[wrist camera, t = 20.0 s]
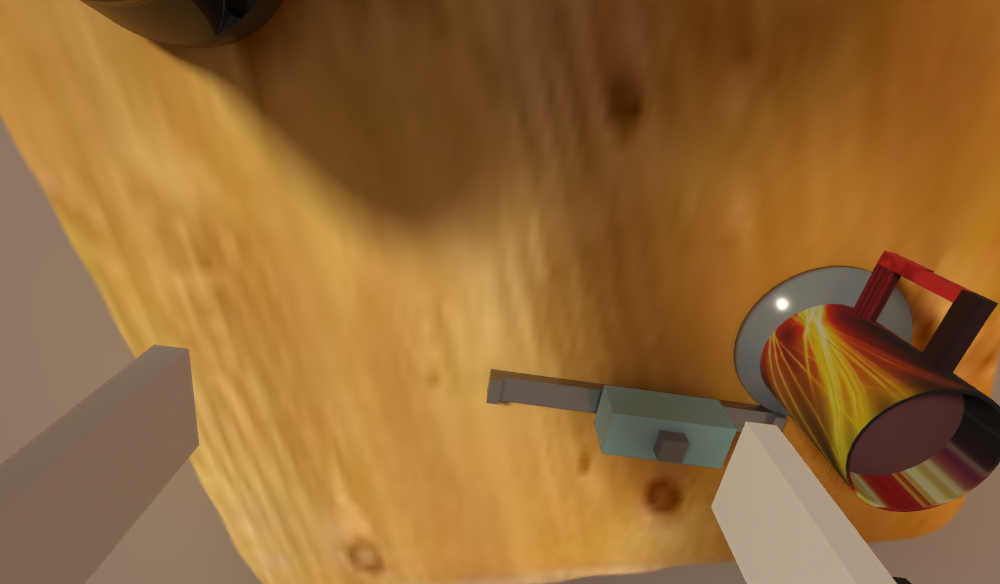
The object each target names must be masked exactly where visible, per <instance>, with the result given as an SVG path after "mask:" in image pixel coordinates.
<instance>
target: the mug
mask: <svg viewBox="0 0 1000 584" xmlns="http://www.w3.org/2000/svg"><path fill="white" fill-rule="evenodd" d="M933 272H934V271H932V270H930V269H928V268H925V267H923V266H921V265H919V264H917V263H915V262H913V261H910V260H908V259H906V258H904V257H902V256H900V255H898V254H895V253H891V252H888V251H884V252H883V254H882V256H881V257H880V259H879V261H878V262H877V265H876V267H875V269H874V271H873V272H872V274H871V276H870V278H869V280H868V282H867V284H866V286H865V288H864V290H863V291H862V293H861V295H860V297H859V299H858V301H857V303H856V305H855V307H850V306H847V305H842V304H825V305H818V306H814V307H811V308H807V309H805V310H803V311H801V312H798V313H796V314H795V315H793V316H791V317H790V318H788V319H787V320H785V321H784V322H783V323H782V324H781V325H780V326H779V327H778V328H776V330H775V331H774V332H773V333H772V335H771V336H770V337H769V339H768V340H767V342H766V344H765V346H764V348H763V351H762V355H761V359H760V371H761V376H762V379H763V381H764V383H765V385H766V386H767V387H768V389H769V390H770V391H771V392H772V394H773V395H774V396H775V397H776V398H777V400H778V401H779V402H780V403H781V404H782V406H783V407H784V408H785V409H786V411H787V412H788V413H789V414H790V415H791V417H792V418H793V419H794V420H795V421H796V423H797V424H798V425H799V426H800V428H801V429H802V430H803V431H804V432H805V434H806V435H807V436H808V437H809V438H810V440H811V441H812V442H813V443H814V445H815V446H816V447H817V448H818V449H819V451H820V452H821V453H822V454H823V455H824V457H825V458H826V459H827V460H828V462H829V463H830V464H831V465H832V466H833V468H834V469H835V470H836V471H837V472H838V474H839V475H840V476H841V477H842V479H843V480H844V481H845V482H846V483H847V485H848V486H849V487H850V488H851V489H852V491H853V492H854V493H855V494H856V496H857V497H859V498H860V499H861V500H863V501H864V502H865V503H867V504H869V505H872V506H874V507H876V508H879V509H883V510H888V511H897V512H910V511H920V510H925V509H929V508H934V507H937V506H940V505H943V504H946V503H948V502H951V501H953V500H955V499H957V498H959V497H961V496H963V495H965V494H966V493H968V492H969V491H971V490H972V489H973V488H975V487H977V486H978V485H979V484H980V483H981V482H982V481H983V480H984V479H986V478H987V477H988V476H989V475H990V474H991V473H992V471H993V470H994V469H995V467H996V466H997V465H998V464H999V462H1000V406H999V405H997V404H996V403H995V402H994V401H993V400H992V399H991V398H989V397H988V396H986V395H985V394H983V393H982V392H980V391H979V390H977V389H976V388H974V387H973V386H971V385H970V384H968V383H967V382H965V381H964V380H962V379H961V378H960V377H958V376H957V375H955V374H954V373H953V371H954V370H955V368H956V367H957V365H958V363H959V362H960V360H961V359H962V357H963V356H964V354H965V353H966V351H967V350H968V348H969V346H970V345H971V343H972V342H973V340H974V339H975V337H976V336H977V334H978V332H979V331H980V329H981V328H982V326H983V325H984V323H985V322H986V320H987V318H988V317H989V316H990V314H991V313H992V311H993V310H994V309H995V307H996V306H997V304H998V303H996V302H994V301H992V300H989V299H987V298H985V297H983V296H981V295H979V294H977V293H975V292H973V291H970V290H968V289H966V288H964V287H962V286H960V285H958V284H956V283H953V282H951V281H949V280H947V279H945V278H943V277H941V276H939V275H937V274H934V273H933ZM901 276H903V277H905V278H907V279H908V280H910V281H912V282H914V283H916V284H918V285H920V286H922V287H924V288H926V289H928V290H930V291H932V292H934V293H935V294H937V295H939V296H941V297H943V298H945V299H947V300H949V301H951V302H953V304H952V305H951V307H950V309H949V310H948V312H947V314H946V315H945V317H944V319H943V320H942V322H941V324H940V325H939V327H938V329H937V330H936V332H935V333H934V335H933V337H932V338H931V340H930V342H929V343H928V345H927V347H926V348H925V350H924V352H921V351H920V350H918V349H917V348H915V347H914V346H912V345H911V344H909V343H908V342H906V341H905V340H903V339H902V338H900V337H899V336H897V335H896V334H894V333H893V332H892V331H890V330H889V329H887V328H886V327H884V326H883V325H881V324H880V323H878V322H877V319H878V317H879V315H880V313H881V312H882V310H883V308H884V306H885V304H886V303H887V301H888V299H889V297H890V295H891V293H892V292H893V290H894V288H895V286H896V284H897V283H898V281H899V279H900V277H901Z"/></svg>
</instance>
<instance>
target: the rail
mask: <svg viewBox="0 0 1000 584" xmlns="http://www.w3.org/2000/svg"><path fill="white" fill-rule="evenodd" d="M603 388H604V384H596V383H589V382H581V381H574V380H566V379H559V378H552V377H544V376H537V375H529V374H522V373H514V372H507V371H499V370H492V369H491V372H490V378H489V385H488V391H487V403H492V404H498V402H499V400H500V401H507V402H515V403H523V404H530V405H538V406H545V407H553V408H561V409H568V410H576V411H583V412H591V413H597V411H598V407H599V403H600V399H601V396H602V392H603ZM633 389H634V388H633ZM700 398H701V397H700ZM719 402H720V403H721V405H722V407H723V408H724V410H725V411H726V413H727V414H728V416H729V417H730V419H731V421H732V422H733V424H734V425H735V427H736V428H737V431H736V432H742V430H743V427H744V425H745V422H746V421H747V422H754V423H762V424H770V425H777V426H778V428H779V429H780V430H781V431H782V429H783V427H784V425H785V422H786V420H787V418H786V417H785V416H784V415H783V413H776V412H773V411H771V410H769V409H767V408H765V407H764V406H760V405H753V404H745V403H738V402H730V401H723V400H719Z"/></svg>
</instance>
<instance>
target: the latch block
mask: <svg viewBox="0 0 1000 584" xmlns="http://www.w3.org/2000/svg"><path fill="white" fill-rule="evenodd" d="M594 424H595V428H596V432H597V436H598V440H599V444H600V448H601V452H602V454H610V455H618V456H626V457H634V458H641V459H649V460H657V461H665V462H673V463H680V464H688V465H696V466H704V467H712V468H719V469H721V468H722V466H723V463H724V461H725V459H726V456H727V454H728V451H729V449H730V446H731V444H732V441H733V439H734V436H735V434H736V431H737V428H736V427H735V425H734V424H733V422H732V421H731V419H730V417H729V416H728V414H727V413H726V411H725V410H724V408H723V407H722V405H721V403H720V402H719V400H715V399H708V398H700V397H693V396H686V395H678V394H671V393H663V392H656V391H648V390H641V389H633V388H626V387H619V386H611V385H604V388H603V392H602V396H601V399H600V403H599V407H598V411H597V414H596V418H595V422H594Z"/></svg>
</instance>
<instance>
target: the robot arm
mask: <svg viewBox="0 0 1000 584" xmlns="http://www.w3.org/2000/svg"><path fill="white" fill-rule="evenodd" d="M80 1H82V2H83V3H85V4H87V5H88V6H90V7H91V8H93V9H95V10H96V11H98V12H99V13H101V14H102V15H104V16H105V17H107V18H109V19H110V20H112V21H113V22H115V23H116V24H118V25H120V26H122V27H123V28H125V29H127V30H129V31H131V32H133V33H136V34H138V35H140V36H143V37H146V38H149V39H151V40H154V41H158V42H162V43H166V44H171V45H180V46H191V47H214V46H221V45H226V44H229V43H232V42H236V41H238V40H240V39H243V38H244V37H246V36H248V35H250V34H251V33H253V32H254V31H256V30H257V29H258V28H260V27H261V26H262V25H263V24H264V23H265V22H266V21H267V20H268V19H269V18H270V17H271V16H272V15H273V14H274V12H275V11H276V9H277V8H278V7H279V5H280V3H281V2H282V0H80ZM198 446H199V440H198V431H197V421H196V412H195V403H194V394H193V384H192V375H191V366H190V357H189V349H184V348H176V347H169V346H161V345H153V346H152V347H151V348H149V349H148V350H147V351H146V352H144V353H143V354H142V355H140V356H139V357H138V358H137V359H135V360H134V361H133V362H132V363H130V364H129V365H128V366H127V367H125V368H124V369H123V370H121V371H120V372H119V373H117V374H116V375H115V376H114V377H112V378H111V379H110V380H108V381H107V382H106V383H104V384H103V385H102V386H101V387H99V388H98V389H97V390H95V391H94V392H93V393H92V394H90V395H89V396H88V397H86V398H85V399H84V400H83V401H82V402H80V403H79V404H77V405H76V406H75V407H74V408H72V409H71V410H70V411H68V412H67V413H66V414H65V415H63V416H62V417H61V418H59V419H58V420H57V421H56V422H54V423H53V424H52V425H50V426H49V427H48V428H47V429H45V430H44V431H43V432H41V433H40V434H39V435H37V436H36V437H35V438H34V439H32V440H31V441H30V442H29V443H27V444H26V445H25V446H23V447H22V448H21V449H19V450H18V451H17V452H16V453H14V454H13V455H12V456H10V457H9V458H8V459H7V460H5V461H4V462H3V463H1V464H0V584H85V583H86V582H87V580H88V579H89V578H90V576H91V575H92V574H93V573H94V572H95V571H96V569H97V568H98V567H99V566H100V564H101V563H102V562H103V561H104V560H105V558H106V557H107V556H108V555H109V554H110V552H111V551H112V550H113V549H114V548H115V546H116V545H117V544H118V543H119V541H120V540H121V539H122V538H123V537H124V535H125V534H126V533H127V532H128V531H129V529H130V528H131V527H132V526H133V524H134V523H135V522H136V521H137V520H138V518H139V517H140V516H141V515H142V513H143V512H144V511H145V510H146V509H147V507H148V506H149V505H150V504H151V503H152V501H153V500H154V499H155V498H156V497H157V495H158V494H159V493H160V492H161V490H162V489H163V488H164V487H165V486H166V484H167V483H168V482H169V481H170V480H171V478H172V477H173V476H174V475H175V473H176V472H177V471H178V470H179V469H180V467H181V466H182V465H183V464H184V463H185V461H186V460H187V459H188V458H189V456H190V455H191V454H192V453H193V452H194V450H195V449H196V448H197V447H198ZM711 508H712V511H713V513H714V515H715V517H716V519H717V521H718V523H719V526H720V528H721V530H722V532H723V534H724V536H725V538H726V541H727V543H728V545H729V547H730V549H731V551H732V553H733V556H734V558H735V560H736V562H737V564H738V566H739V568H740V571H741V572H742V575H743V577H744V579H745V581H746V583H747V584H911V583H910V582H909V581H908V580H907V579H905V578H897V577H892V576H891V575H890V574H889V573H888V571H887V570H886V569H885V567H884V566H883V565H882V563H881V562H880V561H879V559H878V558H877V557H876V555H875V554H874V553H873V551H872V550H871V549H870V548H869V546H868V545H867V543H866V542H865V541H864V540H863V538H862V537H861V536H860V534H859V533H858V532H857V530H856V529H855V528H854V526H853V525H852V524H851V522H850V521H849V520H848V518H847V517H846V516H845V515H844V513H843V512H842V511H841V509H840V508H839V507H838V505H837V504H836V503H835V501H834V500H833V499H832V497H831V496H830V495H829V493H828V492H827V491H826V490H825V488H824V487H823V486H822V484H821V483H820V482H819V480H818V479H817V478H816V476H815V475H814V474H813V472H812V471H811V470H810V468H809V467H808V466H807V465H806V463H805V462H804V461H803V459H802V458H801V457H800V455H799V454H798V453H797V451H796V450H795V449H794V447H793V446H792V445H791V443H790V442H789V441H788V440H787V438H786V437H785V436H784V434H783V433H782V432H781V430H780V429H779V428H778V426H777V425H770V424H762V423H754V422H747V421H746V422H745V425H744V427H743V430H742V432H741V435H740V437H739V440H738V442H737V444H736V447H735V449H734V452H733V454H732V457H731V459H730V462H729V464H728V466H727V469H726V471H725V474H724V476H723V479H722V481H721V484H720V486H719V489H718V491H717V493H716V496H715V498H714V501H713V503H712V506H711Z"/></svg>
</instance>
